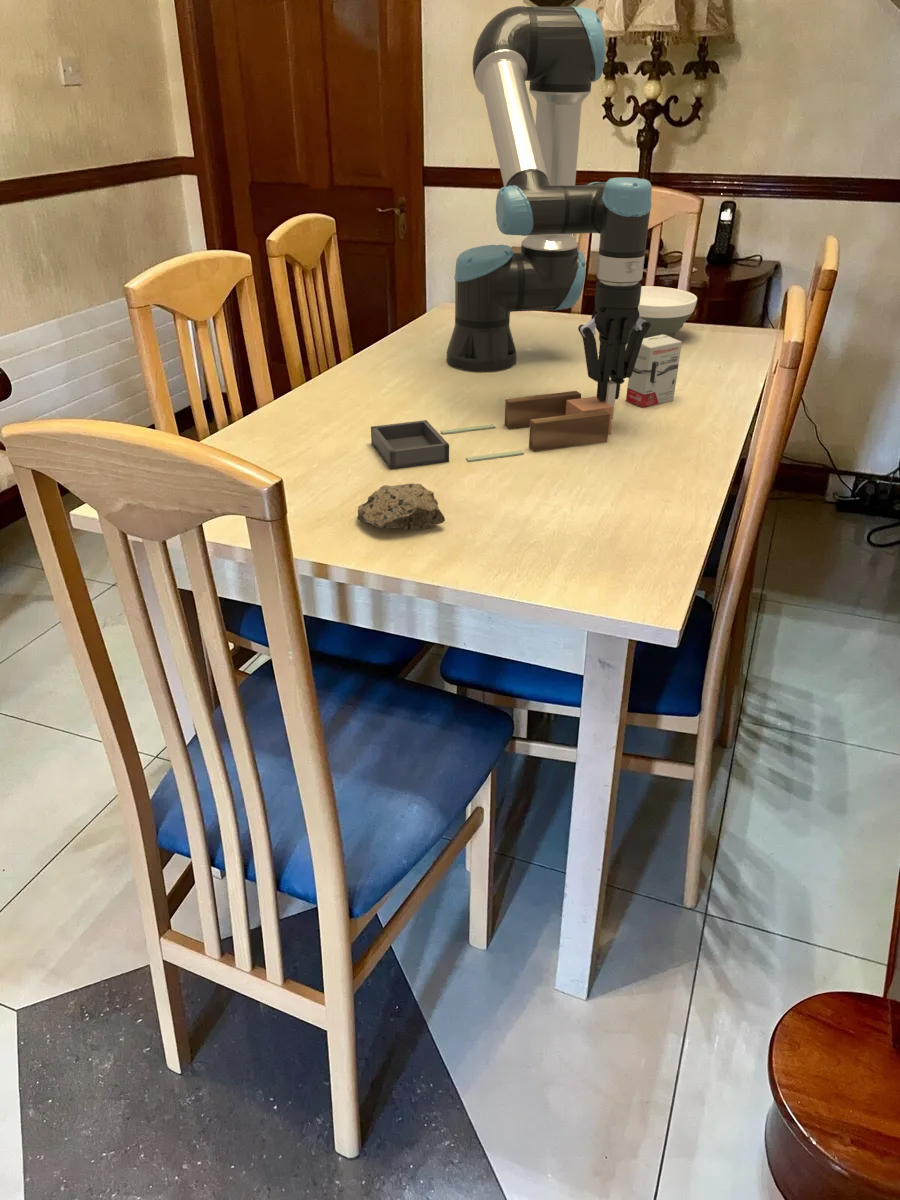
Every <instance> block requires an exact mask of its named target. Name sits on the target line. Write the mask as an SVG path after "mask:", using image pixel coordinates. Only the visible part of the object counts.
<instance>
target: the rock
mask: <svg viewBox="0 0 900 1200" xmlns="http://www.w3.org/2000/svg"><path fill="white" fill-rule="evenodd" d="M434 493H435V492H433V491H431V490H429V489H427V488H426V487H425V486H423V485H422V484H421V483H411V482H410V483H405V484H397V485H387V484H386V485H381V486H380V487H379V488H378V490H375V491H374V492H373V493H372V494H370V495H369V496H368V497H367V501H366V502H364V503H362V504H360V505H358V507H357V508H358V509H357V519H359V520H360V522H362V521H363V523H365V524H366V523H367V524H371V525H373V526H374V527H377V528H381V529H386V530H391V529H394V528H395V529H400V530H403V531H412V530H418V531H421V530H424V529H429V528H431V527H433V526H434V525H441V524H443V523H444V522H445V521H446V519H445V515H444V514H443V513H442V511H441V510H440V508H439V506H438V505H439V502H438V501H437V499H436V498H435V494H434ZM359 520H358V521H359Z"/></svg>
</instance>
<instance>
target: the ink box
mask: <svg viewBox="0 0 900 1200" xmlns="http://www.w3.org/2000/svg"><path fill="white" fill-rule="evenodd" d="M682 344H683V341H681V340H679V339H676V338H674V337H673V338H672V337H669V336H667V335H658V336H653V337H648V338H643V341H642V344H641V348H640V351H639V354H638V357H637V360H636V363H635V366H634V369H633V372H632V375H631V377H630V378H628V380H627V388H626V396H625V397H626V399H625V401H626V402H629V403H631V404H633V405H636V406H638V407H640V408H642V409H643V408H649V407H651V406H654V405H655V406H656V405H659V404H664V403H667V402H671V401H674V398H675V397H674V396H675V392H676V385H677V384H676V383H677V378H678V371H679V365H680V364H679V363H680V358H681V349H682Z"/></svg>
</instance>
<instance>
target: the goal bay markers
mask: <svg viewBox="0 0 900 1200" xmlns="http://www.w3.org/2000/svg"><path fill="white" fill-rule="evenodd" d="M490 429H496V425H495V424H494V423H491V424H484V425H483V424H482V425H476V426H466V427H459V428H452V429H451V428H450V429H445V430H444V429H443V430H440V434H442V435H450V434H458V433H465V432H475V431H482V430H490ZM522 455H525V452H524V451H523V450H522V449H520V450H513V451H505V452H498V453H491V454H483V455H477V456H476V455H475V456H468V457H465V460H466V461H467V463H470V462H478V461H485V460H492V459H499V458H501V459H502V458H508V457H513V456H522Z"/></svg>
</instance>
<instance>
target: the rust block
mask: <svg viewBox="0 0 900 1200" xmlns="http://www.w3.org/2000/svg"><path fill="white" fill-rule="evenodd" d="M604 410H605V411H606V412H608V413H609V414H610V420H609V430H608V435H611V434H612V433H611V431H612V422H613V419H612V414H613V407H612V406H611V405H609V404H608V403H606V402H605V401H600V400H598V399H597V395H595V396H587V397H581V398H580V399H572V400H567V402H566V415H571V414H580V413H588V412H596V411H604ZM613 415H614V414H613Z"/></svg>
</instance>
